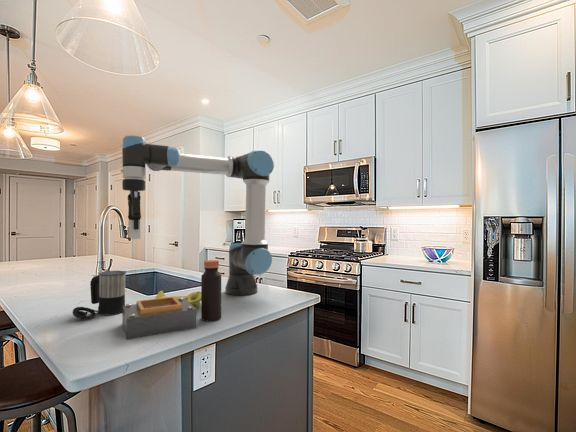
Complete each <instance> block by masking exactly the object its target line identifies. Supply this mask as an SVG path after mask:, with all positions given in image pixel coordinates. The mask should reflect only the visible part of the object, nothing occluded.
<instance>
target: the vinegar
mask: <svg viewBox="0 0 576 432" xmlns="http://www.w3.org/2000/svg"><path fill="white" fill-rule="evenodd" d="M203 263H204V265H203V268H204V272H203V273H202V274H201V279H200V280H201V281H200V282H201V286H200V287H201V291H200V292H201V301H200V304H201V305H200V306H201V308H200V309H201V310H200V311H201V313H200V314H201V320H202V321H203V322H204V321H205V322H215V321H218V320H219V321H220V319H221V318H222V274H221V273H220V272H219V263H220V261H219V260H216V259H215V260H213V259H209V260H204V262H203Z"/></svg>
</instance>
